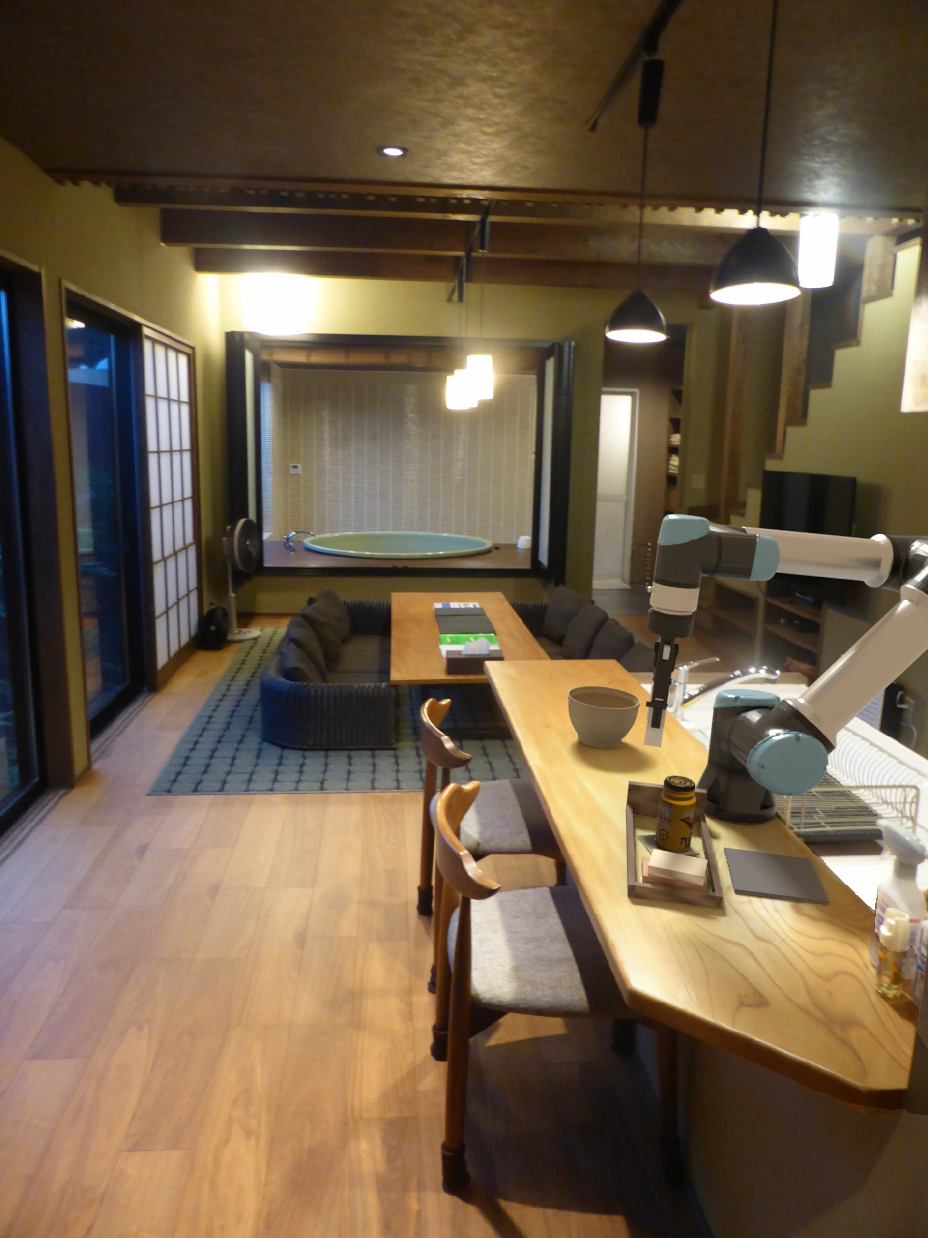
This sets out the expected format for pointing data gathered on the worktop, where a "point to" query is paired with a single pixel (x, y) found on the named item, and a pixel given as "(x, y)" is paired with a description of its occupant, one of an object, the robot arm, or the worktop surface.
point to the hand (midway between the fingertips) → (653, 732)
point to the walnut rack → (646, 804)
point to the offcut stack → (674, 870)
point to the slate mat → (774, 876)
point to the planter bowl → (602, 714)
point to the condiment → (674, 818)
